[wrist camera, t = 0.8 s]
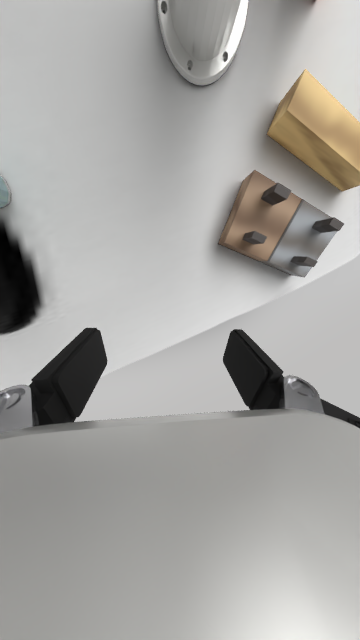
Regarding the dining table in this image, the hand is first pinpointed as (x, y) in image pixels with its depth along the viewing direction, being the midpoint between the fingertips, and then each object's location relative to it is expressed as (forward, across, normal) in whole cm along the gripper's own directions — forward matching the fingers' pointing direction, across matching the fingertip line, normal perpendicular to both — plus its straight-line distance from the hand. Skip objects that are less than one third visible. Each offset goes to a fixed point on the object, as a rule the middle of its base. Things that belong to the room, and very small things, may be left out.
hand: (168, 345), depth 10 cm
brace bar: (+29, -29, -26) cm, 49 cm away
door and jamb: (+28, -26, -12) cm, 40 cm away
